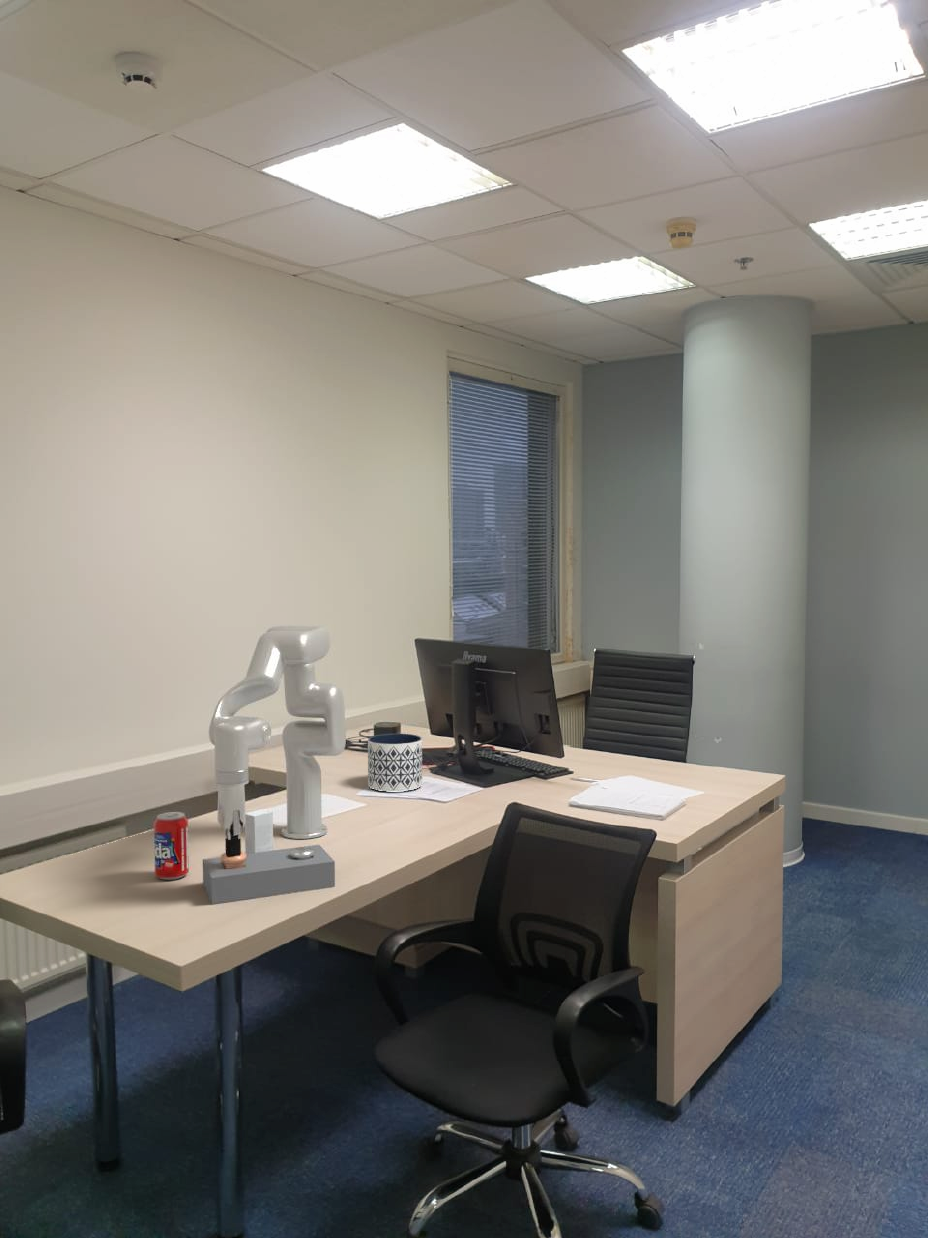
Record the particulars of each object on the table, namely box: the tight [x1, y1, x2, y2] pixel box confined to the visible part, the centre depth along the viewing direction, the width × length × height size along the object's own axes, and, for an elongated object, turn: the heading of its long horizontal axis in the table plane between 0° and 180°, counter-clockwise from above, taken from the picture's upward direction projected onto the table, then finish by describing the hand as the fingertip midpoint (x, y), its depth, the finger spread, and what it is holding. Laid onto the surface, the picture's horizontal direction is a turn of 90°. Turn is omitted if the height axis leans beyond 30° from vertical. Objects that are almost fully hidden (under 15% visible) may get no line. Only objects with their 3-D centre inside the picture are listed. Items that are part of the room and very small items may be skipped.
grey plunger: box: [290, 846, 314, 860], centre depth 221 cm, size 6×6×6 cm
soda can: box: [153, 811, 190, 881], centre depth 224 cm, size 8×8×15 cm
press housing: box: [202, 844, 336, 906], centre depth 218 cm, size 14×28×6 cm, turn 114°
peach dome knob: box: [220, 851, 246, 869], centre depth 215 cm, size 6×6×6 cm
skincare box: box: [244, 808, 275, 854], centre depth 238 cm, size 6×4×12 cm
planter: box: [367, 733, 423, 791], centre depth 313 cm, size 18×18×16 cm
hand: (233, 855), depth 214 cm, fingers closed
